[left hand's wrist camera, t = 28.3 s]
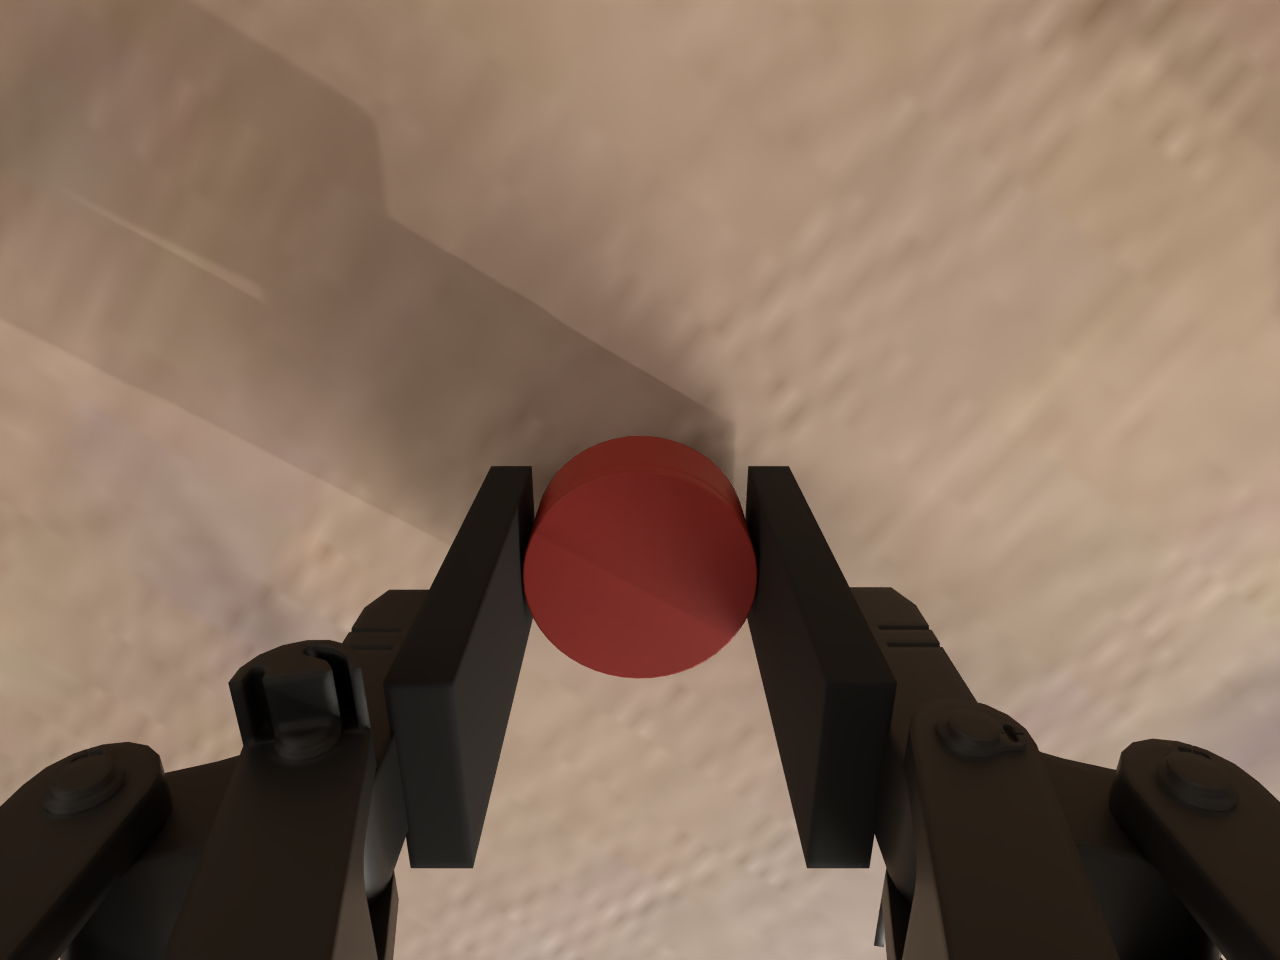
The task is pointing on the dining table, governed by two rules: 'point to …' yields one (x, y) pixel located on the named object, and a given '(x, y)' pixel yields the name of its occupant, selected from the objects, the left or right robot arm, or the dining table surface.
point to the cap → (640, 559)
